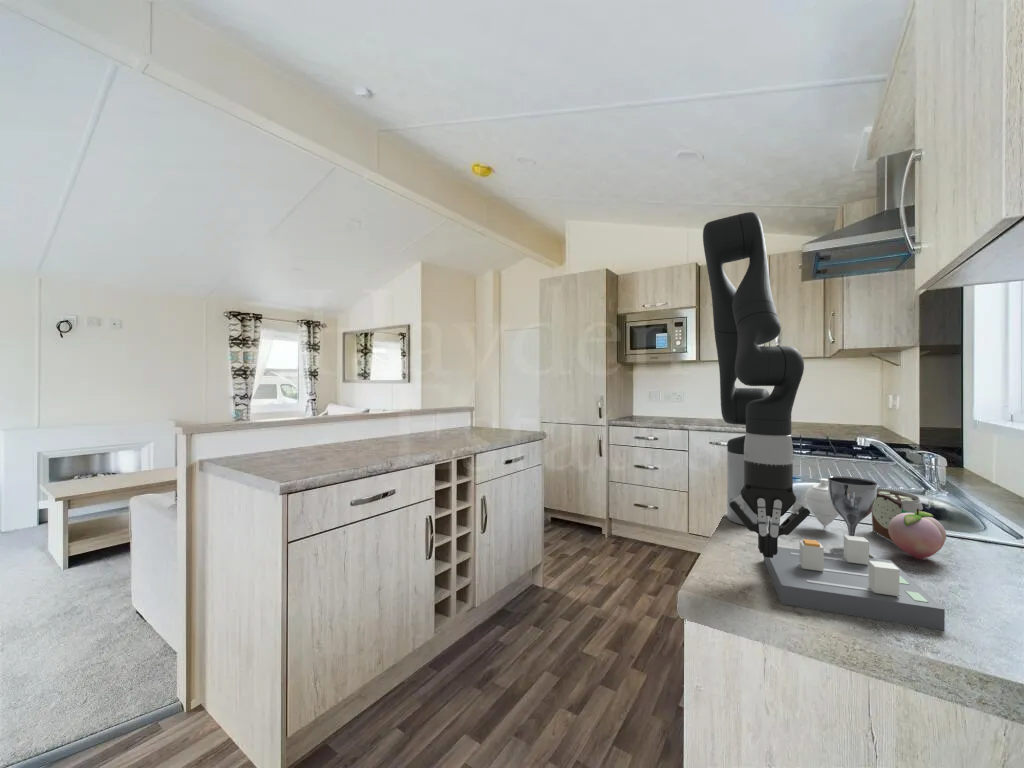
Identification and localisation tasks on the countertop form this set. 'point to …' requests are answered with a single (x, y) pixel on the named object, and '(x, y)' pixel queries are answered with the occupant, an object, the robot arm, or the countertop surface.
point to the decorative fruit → (917, 533)
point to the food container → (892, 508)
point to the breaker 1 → (856, 549)
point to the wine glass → (851, 501)
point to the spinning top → (821, 503)
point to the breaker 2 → (884, 578)
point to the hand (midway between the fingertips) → (767, 555)
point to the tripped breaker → (811, 555)
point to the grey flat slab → (850, 590)
